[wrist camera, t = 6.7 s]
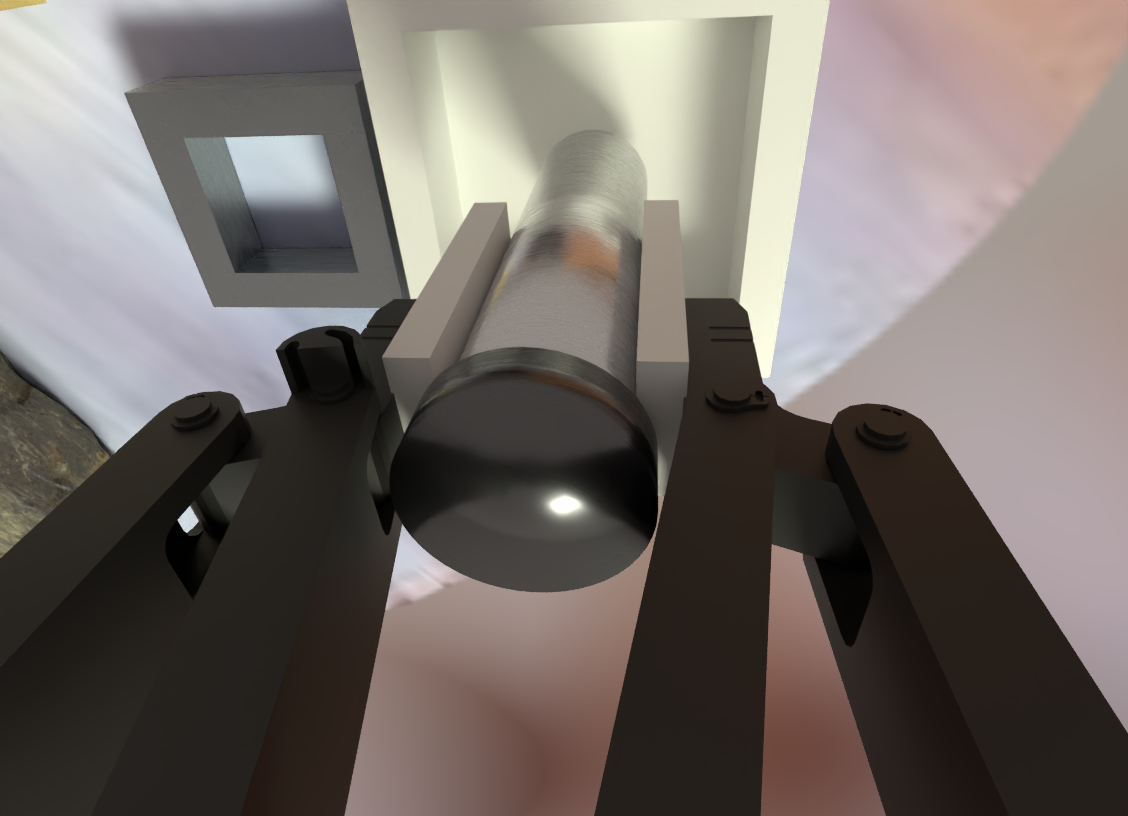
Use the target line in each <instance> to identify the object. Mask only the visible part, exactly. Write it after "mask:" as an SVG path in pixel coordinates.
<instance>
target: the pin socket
mask: <svg viewBox="0 0 1128 816" xmlns="http://www.w3.org/2000/svg"><path fill="white" fill-rule="evenodd" d="M124 94H125V96H126V98H127V101H128V103H129V105H130V108H131V110H132V113H133V115H134V117H135V120H136V122H137V125H138V127H139V129H140V132H141V134H142V137H143V139H144V141H145V144H146V146H147V149H148V151H149V153H150V156H151V158H152V160H153V163H154V165H155V168H156V170H157V172H158V175H159V177H160V180H161V182H162V184H163V187H164V189H165V192H166V194H167V196H168V199H169V201H170V204H171V206H172V208H173V211H174V213H175V215H176V218H177V220H178V223H179V225H180V227H181V230H182V232H183V235H184V237H185V239H186V242H187V244H188V247H189V249H190V251H191V254H192V256H193V259H194V261H195V263H196V266H197V268H198V270H199V273H200V275H201V278H202V280H203V282H204V285H205V287H206V290H207V292H208V294H209V297H210V299H211V302H212V304H213V306H214V307H332V308H382V307H383V306H385V305H386V304H388V303H389V302H391V301H392V300H394V299H410V293H409V288H408V284H407V279H406V274H405V270H404V265H403V261H402V256H401V251H400V247H399V242H398V237H397V233H396V228H395V223H394V219H393V214H392V210H391V205H390V200H389V196H388V191H387V186H386V182H385V177H384V172H383V168H382V163H381V159H380V154H379V149H378V145H377V140H376V135H375V131H374V126H373V121H372V117H371V112H370V108H369V103H368V98H367V94H366V89H365V84H364V80H363V75H362V71H361V70H357V71H332V72H307V73H282V74H256V75H231V76H206V77H181V78H163V79H161V80H158V81H155V82H153V83H150V84H147V85H144V86H142V87H139V88H136V89H134V90H131V91H128V92H125V93H124ZM322 134H323V137H324V141H325V145H326V149H327V152H328V156H329V160H330V164H331V168H332V172H333V175H334V179H335V183H336V187H337V191H338V195H339V198H340V202H341V206H342V210H343V214H344V217H345V221H346V225H347V229H348V233H349V237H350V240H351V244H352V248H275V249H263V248H262V246H261V243H260V240H259V237H258V234H257V231H256V228H255V225H254V223H253V220H252V217H251V214H250V211H249V208H248V205H247V202H246V200H245V197H244V194H243V191H242V188H241V185H240V182H239V179H238V177H237V174H236V171H235V168H234V165H233V162H232V159H231V156H230V154H229V151H228V148H227V145H226V142H225V139H224V137H250V136H286V135H322Z"/></svg>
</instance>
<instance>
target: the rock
mask: <svg viewBox="0 0 1128 816" xmlns="http://www.w3.org/2000/svg"><path fill="white" fill-rule="evenodd" d="M109 458H110V456H109V455H108V454H107V453H106V451H105V450H104V449H103V448H102V447H101V446H100V444H99V443H98V441H97V439H96V437H95V435H94V434H93V432H92V431H91V429H90V428H88V427H87V426H86V425H84V424H83V423H82V422H80V421H79V420H78V419H77V418H76V417H75V416H74V415H72V414H71V413H70V412H69V411H68V410H67V409H66V408H65V407H64V406H63V405H61V404H59V403H58V402H56V401H54V400H53V399H51V398H49V397H48V396H46V395H45V394H44V393H42V392H41V391H39V390H38V389H36V388H34V387H32V386H30V385H29V384H28V383H26V382H25V381H24V380H23V379H22V378H21V377H19V376H18V375H17V374H16V373H15V372H14V371H13V370H12V367H11V364H10V362H9V360H8V359H7V358H6V357H5V356H4V355H3V354H2V353H1V352H0V558H1V557H2V556H3V555H4V554H5V553H7V552H8V551H9V550H10V549H11V548H12V547H13V546H14V545H15V544H16V543H17V542H19V541H20V540H21V539H22V538H23V537H24V536H25V535H26V534H27V533H28V532H29V531H31V530H32V529H33V528H34V527H35V526H36V525H37V524H38V523H39V522H40V521H41V520H43V519H44V518H45V517H46V516H47V515H48V514H49V513H50V512H51V511H52V510H53V509H55V508H56V507H57V506H58V505H59V504H60V503H61V502H62V501H63V500H64V499H65V498H67V497H68V496H69V495H70V494H71V493H72V492H73V491H74V490H75V489H76V488H77V487H79V486H80V485H81V484H82V483H83V482H84V481H85V480H86V479H87V478H88V477H90V476H91V475H92V474H93V473H94V472H95V471H96V470H97V469H98V468H99V467H100V466H102V465H103V464H104V463H105V462H106V461H107V460H108V459H109Z"/></svg>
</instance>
